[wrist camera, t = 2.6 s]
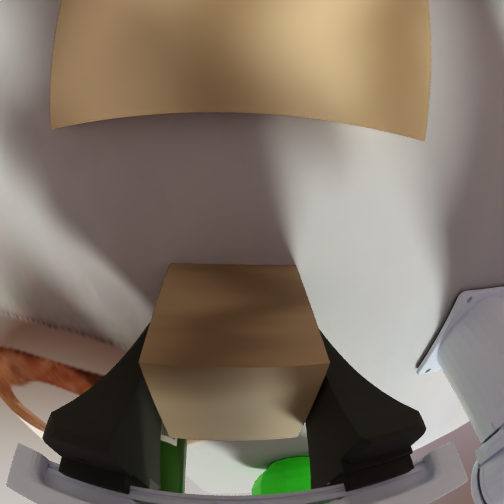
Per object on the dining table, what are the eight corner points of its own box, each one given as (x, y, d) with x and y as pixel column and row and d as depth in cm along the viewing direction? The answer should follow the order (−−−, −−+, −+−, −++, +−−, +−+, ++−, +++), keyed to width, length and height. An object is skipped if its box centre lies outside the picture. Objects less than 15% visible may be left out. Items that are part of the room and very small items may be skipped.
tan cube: (296, 265, 12) (329, 363, 8) (281, 349, 15) (297, 437, 10) (170, 263, 12) (138, 362, 7) (181, 348, 15) (170, 437, 10)
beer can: (125, 387, 16) (97, 543, 6) (197, 408, 18) (193, 561, 7) (119, 415, 19) (99, 538, 8) (179, 432, 20) (173, 554, 9)
